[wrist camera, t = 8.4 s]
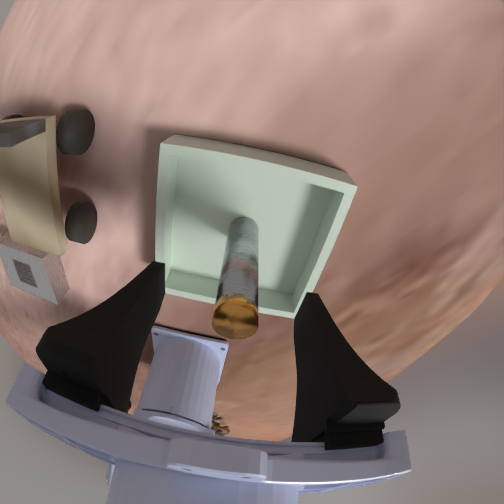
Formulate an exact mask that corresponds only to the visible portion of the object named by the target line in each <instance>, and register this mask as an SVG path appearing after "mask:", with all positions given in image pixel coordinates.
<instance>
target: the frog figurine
mask: <svg viewBox="0 0 504 504" xmlns="http://www.w3.org/2000/svg"><path fill="white" fill-rule="evenodd" d="M220 416H221V414H220V413H217V412H213V415H212V422H211V429H212V430H215V434H219V435H220V436H224V435H225V434H229V432H230V431H229V429H228V428H229V426H224V425H226V423H224V422H219V421H217V420H215V419H216V418H217V417H220Z"/></svg>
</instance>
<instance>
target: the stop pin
mask: <svg viewBox="0 0 504 504" xmlns="http://www.w3.org/2000/svg"><path fill="white" fill-rule="evenodd" d="M258 282H259V228H258V225H257V223H256V222H255V221H254V220H253V219H251V218H249V217H238V218H236V219H234V220H233V221H232V222H231V224H230V226H229V230H228V235H227V241H226V246H225V251H224V257H223V262H222V268H221V273H220V279H219V284H218V290H217V295H216V301H215V307H214V313H213V319H212V326H213V328H214V330H215V331H216V332H217V333H218V334H219V335H221V336H223V337H226V338H229V339H245V338H248V337H250V336H252V335H253V334H254V333H255V332H256V331H257V329H258Z"/></svg>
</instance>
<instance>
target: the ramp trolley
mask: <svg viewBox="0 0 504 504" xmlns="http://www.w3.org/2000/svg"><path fill="white" fill-rule="evenodd" d="M94 131H95V122H94V117H93V115H92V113H91V112H90V111H88V110H71V111H68V112H66V113H65V114H64V115H63V117H62V118H61V120H60V121H59V124H58V127H57V131H56V115H48V116H34V117H23V116H22V115H10V116H6V117H5V118H3V119H2V120H1V121H0V195H1V200H2V205H3V210H4V214H5V218H6V222H7V226H8V230H9V234H10V237H11V240H12V241H15V242H18V243H21V244H24V245H27V246H30V247H33V248H37V249H40V250H43V251H46V252H49V253H53V254H56V255H59V256H62V255H63V254H64V253H65V252H66V251H67V250H68V249H69V248H68V243H67V238H68V239H69V240H70V241H74V242H78V243H82V244H86V243H88V242H89V241H90V240H91V238H92V237H93V235H94V232H95V229H96V225H97V211H96V208H95V207H94V205H92V204H86V203H81V202H76V203H75V204H73V205H72V206H71V208H70V209H69V211H68V213H67V216H66V220H65V227H64V221H63V215H62V208H61V201H60V193H59V184H58V172H57V157H56V144H57V147H58V149H59V150H60V152H62V153H63V154H74V155H81V154H83V153H85V152H86V151H87V149H88V148H89V146H90V144H91V142H92V140H93V136H94ZM66 236H67V238H66Z"/></svg>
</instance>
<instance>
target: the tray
mask: <svg viewBox="0 0 504 504" xmlns="http://www.w3.org/2000/svg"><path fill="white" fill-rule="evenodd" d="M357 187H358V186H357V185H356V184H355V182H354V181H353V180H352V178H351V177H350V176H349V175H348V173H347V172H345V171H341V170H338V169H335V168H332V167H328V166H325V165H321V164H318V163H314V162H310V161H307V160H303V159H299V158H295V157H291V156H287V155H283V154H279V153H275V152H271V151H266V150H262V149H257V148H253V147H248V146H243V145H238V144H233V143H227V142H222V141H216V140H210V139H204V138H198V137H191V136H184V135H177V134H174V135H173V136H171V137H169V138H168V139H166V140H165V141H163V142H161V143H160V153H159V165H158V179H157V196H156V226H155V261H157V262H161V263H165V293H167V294H171V295H176V296H180V297H185V298H189V299H194V300H198V301H203V302H208V303H212V304H215V301H216V295H217V290H218V284H219V279H220V273H221V268H222V262H223V257H224V251H225V246H226V241H227V235H228V230H229V226H230V224H231V222H232V221H233V220H234V219H236V218H238V217H249V218H251V219H253V220H254V221H255V222H256V223H257V225H258V228H259V282H258V312H259V313H265V314H270V315H276V316H282V317H288V318H295V316H296V314H297V312H298V310H299V308H300V305H301V303H302V301H303V299H304V297H305V295H306V293H307V292H311V293H312V292H313V289H314V287H315V285H316V283H317V281H318V279H319V277H320V274H321V272H322V270H323V268H324V266H325V264H326V261H327V259H328V257H329V255H330V252H331V250H332V248H333V246H334V243H335V241H336V239H337V236H338V234H339V232H340V229H341V227H342V224H343V222H344V220H345V217H346V215H347V212H348V210H349V207H350V205H351V202H352V200H353V197H354V195H355V192H356V189H357Z"/></svg>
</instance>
